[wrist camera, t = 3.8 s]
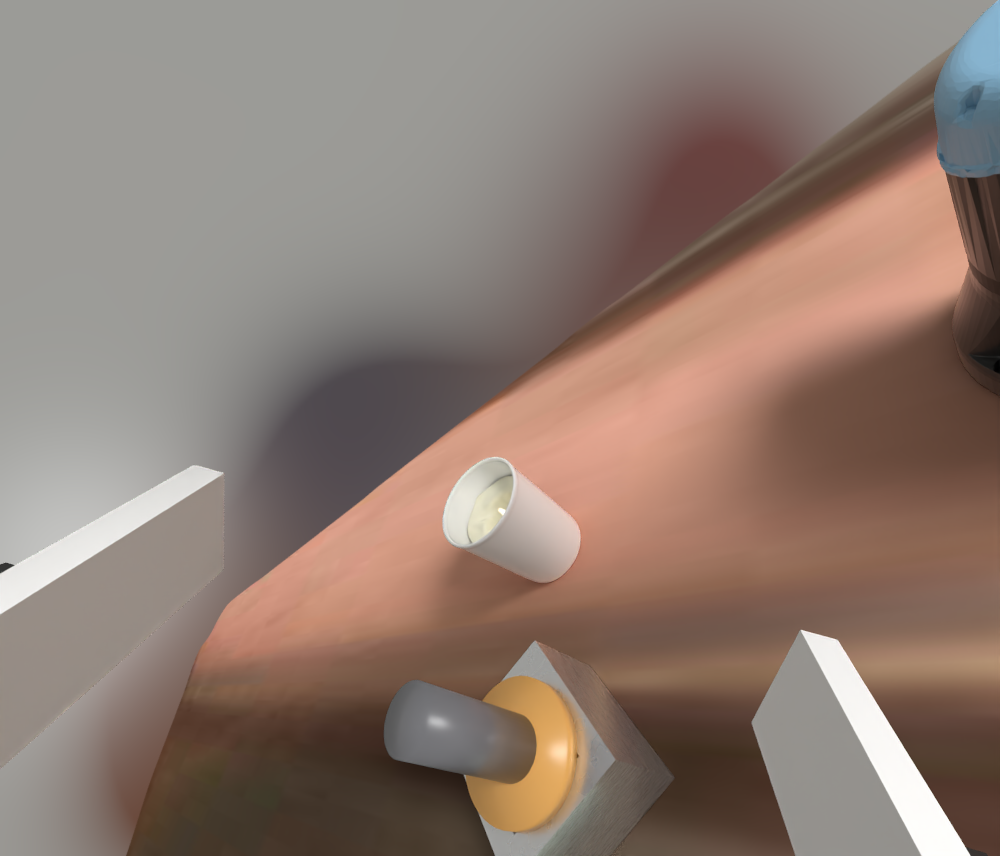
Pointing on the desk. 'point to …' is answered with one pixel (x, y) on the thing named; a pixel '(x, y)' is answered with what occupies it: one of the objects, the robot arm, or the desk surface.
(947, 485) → the desk surface
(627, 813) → the block
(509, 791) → the end cover
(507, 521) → the candle holder
